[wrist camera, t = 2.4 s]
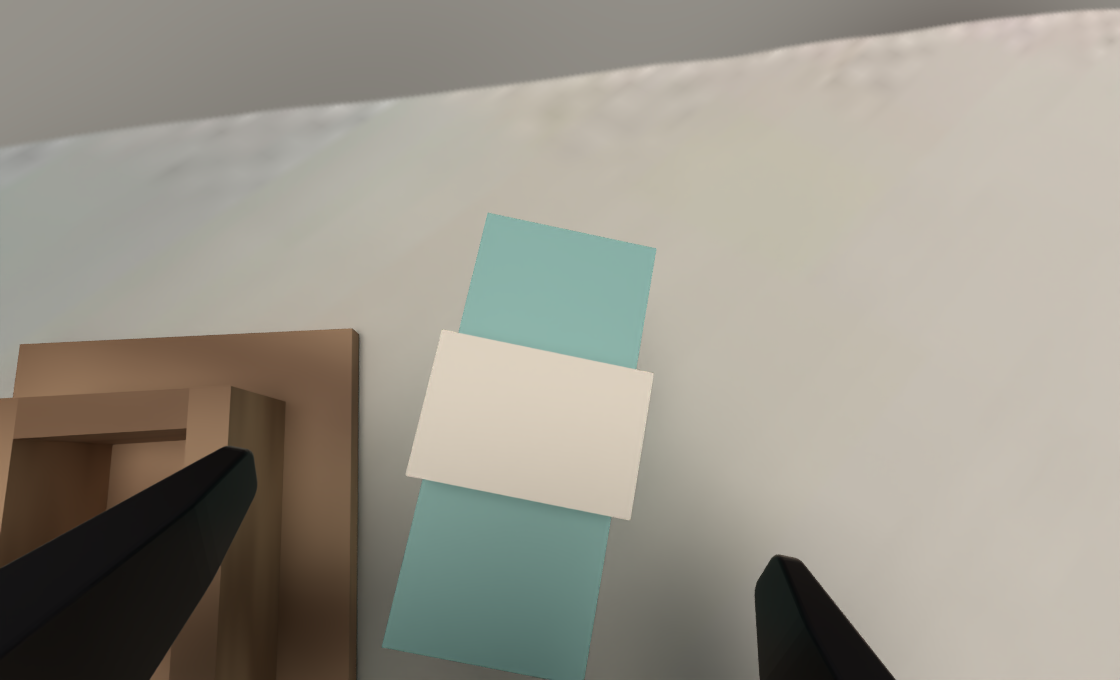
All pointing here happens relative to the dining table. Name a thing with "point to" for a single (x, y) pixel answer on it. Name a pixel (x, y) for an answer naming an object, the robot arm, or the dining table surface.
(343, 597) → the tray
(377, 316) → the dining table surface
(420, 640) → the teal rectangular box
